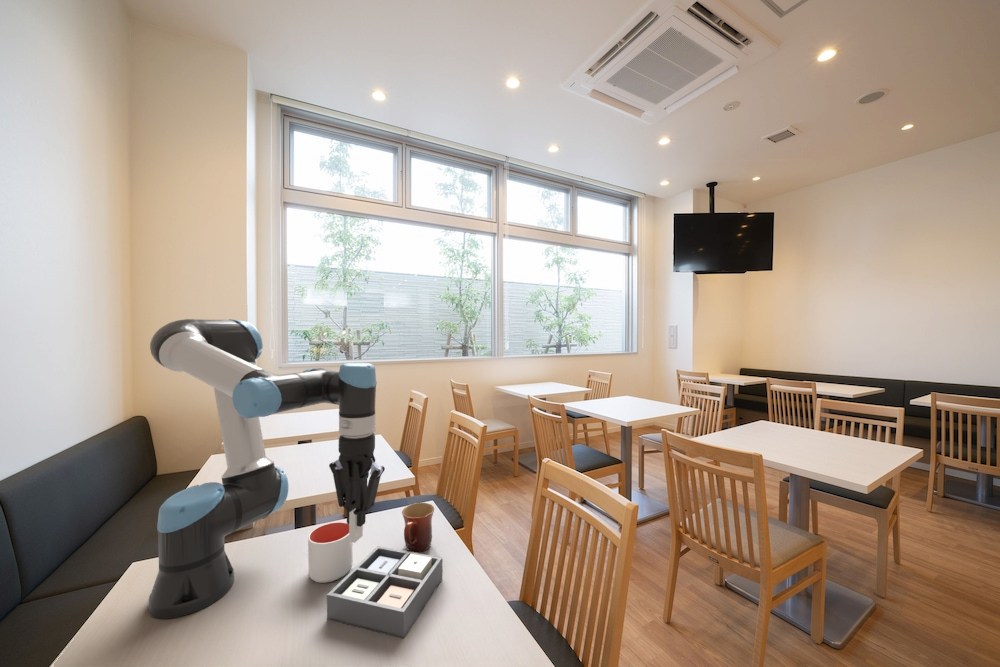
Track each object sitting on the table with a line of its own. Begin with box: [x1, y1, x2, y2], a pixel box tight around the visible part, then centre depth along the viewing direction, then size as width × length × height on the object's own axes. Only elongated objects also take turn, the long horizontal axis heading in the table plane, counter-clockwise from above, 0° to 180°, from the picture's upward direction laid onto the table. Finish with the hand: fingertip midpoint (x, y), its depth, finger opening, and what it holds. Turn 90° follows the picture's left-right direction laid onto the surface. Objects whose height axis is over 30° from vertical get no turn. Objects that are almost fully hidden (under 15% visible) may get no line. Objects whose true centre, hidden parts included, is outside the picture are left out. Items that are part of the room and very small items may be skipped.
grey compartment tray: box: [326, 545, 443, 639], centre depth 84 cm, size 18×18×5 cm
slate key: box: [367, 556, 400, 573], centre depth 89 cm, size 6×6×4 cm
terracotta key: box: [377, 585, 414, 608], centre depth 79 cm, size 6×6×4 cm
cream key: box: [398, 554, 432, 580], centre depth 87 cm, size 6×6×4 cm
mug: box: [401, 502, 435, 553], centre depth 102 cm, size 12×9×10 cm
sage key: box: [342, 578, 379, 600], centre depth 81 cm, size 6×6×4 cm
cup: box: [307, 521, 353, 584], centre depth 93 cm, size 10×10×10 cm
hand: (355, 538), depth 83 cm, fingers closed
